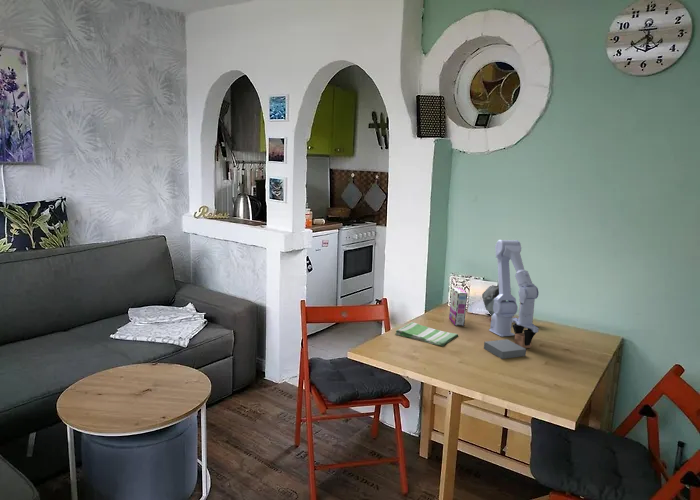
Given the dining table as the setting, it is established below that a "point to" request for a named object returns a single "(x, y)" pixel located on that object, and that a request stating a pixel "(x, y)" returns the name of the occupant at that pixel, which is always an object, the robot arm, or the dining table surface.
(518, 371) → the dining table surface
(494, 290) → the gray rock
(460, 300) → the candy bar box
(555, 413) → the dining table surface
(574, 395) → the dining table surface
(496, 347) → the slate block
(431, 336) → the dish towel
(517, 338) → the terracotta cube
